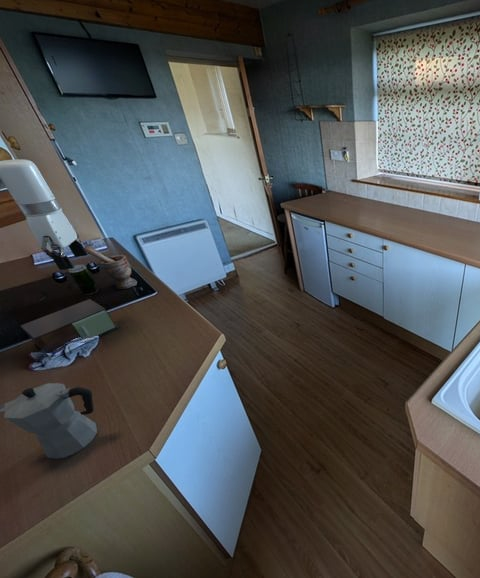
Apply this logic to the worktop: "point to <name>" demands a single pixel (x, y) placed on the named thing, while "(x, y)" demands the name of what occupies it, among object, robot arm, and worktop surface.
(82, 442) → the coffeepot
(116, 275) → the mortar and pestle
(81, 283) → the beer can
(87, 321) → the sliding door
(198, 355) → the worktop surface
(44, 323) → the cupboard
